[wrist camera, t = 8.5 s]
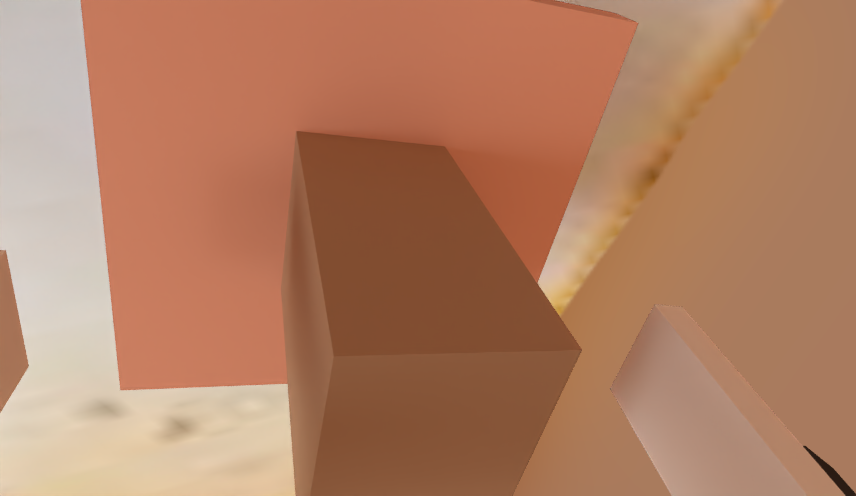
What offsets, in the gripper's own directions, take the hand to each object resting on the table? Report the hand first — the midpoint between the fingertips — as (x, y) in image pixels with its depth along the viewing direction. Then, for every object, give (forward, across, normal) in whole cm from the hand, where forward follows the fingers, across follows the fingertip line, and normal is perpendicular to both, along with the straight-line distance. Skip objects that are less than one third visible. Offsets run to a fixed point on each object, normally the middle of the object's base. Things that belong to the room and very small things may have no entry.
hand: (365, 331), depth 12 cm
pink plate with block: (+6, 0, 0) cm, 6 cm away
